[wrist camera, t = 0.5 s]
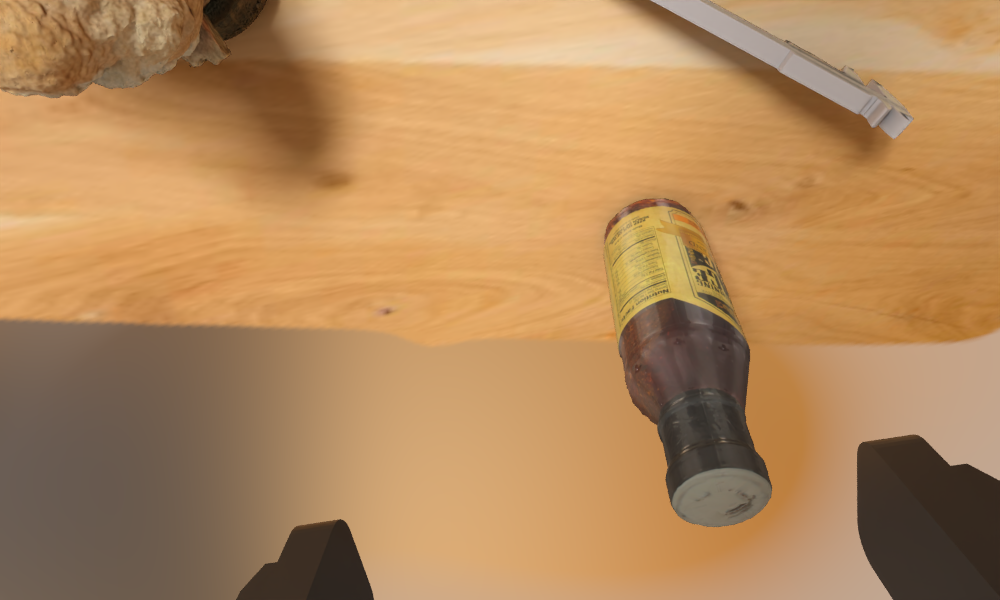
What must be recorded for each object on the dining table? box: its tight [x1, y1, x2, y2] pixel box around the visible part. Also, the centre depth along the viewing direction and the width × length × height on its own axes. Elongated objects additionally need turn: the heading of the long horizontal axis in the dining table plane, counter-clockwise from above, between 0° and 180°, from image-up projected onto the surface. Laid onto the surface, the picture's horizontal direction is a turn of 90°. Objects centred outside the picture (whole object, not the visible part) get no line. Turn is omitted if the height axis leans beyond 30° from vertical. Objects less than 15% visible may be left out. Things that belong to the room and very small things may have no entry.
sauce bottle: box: [604, 199, 772, 527], centre depth 34 cm, size 6×6×20 cm
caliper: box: [651, 0, 913, 139], centre depth 31 cm, size 20×1×6 cm, turn 67°
